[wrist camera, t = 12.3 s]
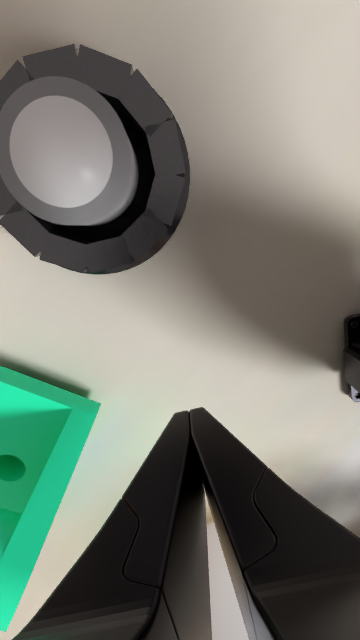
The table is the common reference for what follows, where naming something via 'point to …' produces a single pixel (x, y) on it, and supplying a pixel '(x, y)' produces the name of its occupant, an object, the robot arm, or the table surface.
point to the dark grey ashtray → (152, 154)
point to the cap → (67, 153)
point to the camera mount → (33, 471)
